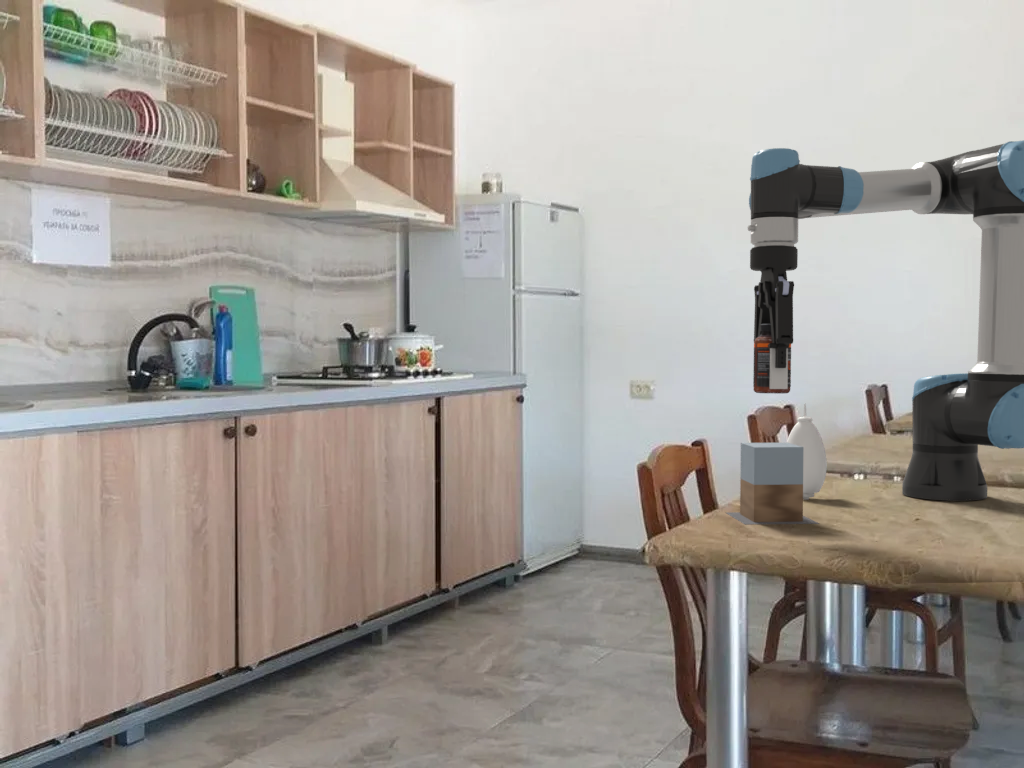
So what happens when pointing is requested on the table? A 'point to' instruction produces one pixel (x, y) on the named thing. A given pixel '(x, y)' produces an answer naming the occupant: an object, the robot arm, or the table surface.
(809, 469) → the sauce bottle
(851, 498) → the table surface
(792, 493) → the walnut block
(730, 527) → the table surface
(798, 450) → the slate block
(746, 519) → the rubber mat
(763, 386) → the supplement bottle
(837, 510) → the table surface
